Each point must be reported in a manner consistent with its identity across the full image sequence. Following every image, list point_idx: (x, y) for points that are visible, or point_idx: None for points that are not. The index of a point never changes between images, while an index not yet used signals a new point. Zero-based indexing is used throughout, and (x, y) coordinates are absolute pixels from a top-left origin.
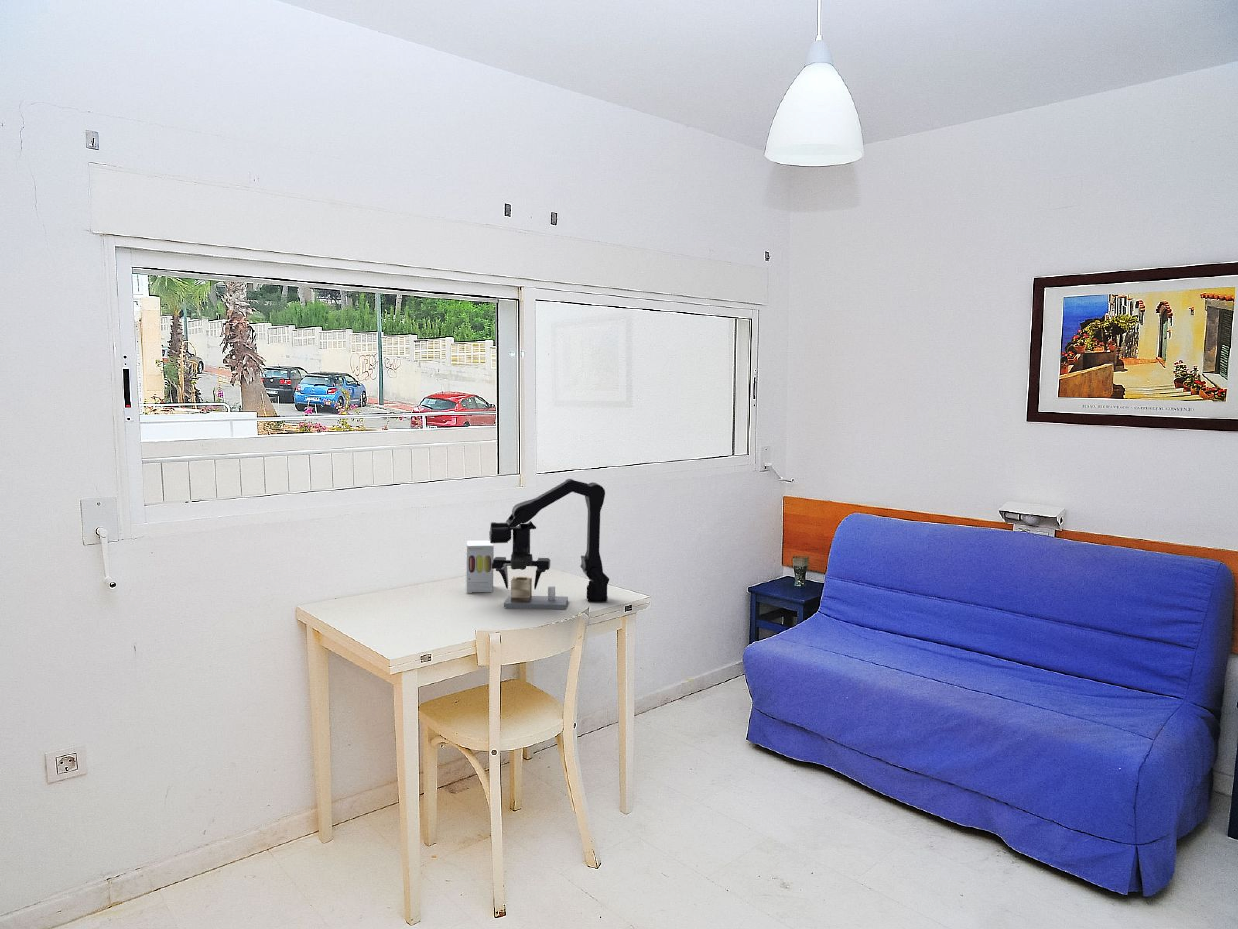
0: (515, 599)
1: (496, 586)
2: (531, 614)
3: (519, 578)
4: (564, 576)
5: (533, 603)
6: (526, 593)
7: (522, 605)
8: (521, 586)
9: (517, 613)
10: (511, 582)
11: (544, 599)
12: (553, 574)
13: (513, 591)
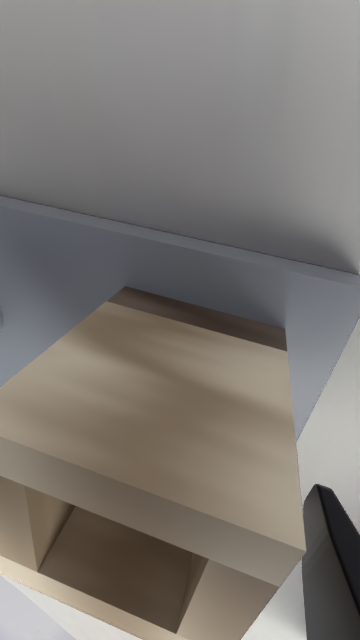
0: (240, 329)
1: (297, 635)
2: (109, 4)
3: (145, 601)
4: (41, 602)
5: (87, 247)
6: (111, 329)
7: (185, 243)
8: (133, 400)
9: (253, 53)
10: (292, 514)
11: (27, 339)
12: (77, 628)
13: (257, 385)
